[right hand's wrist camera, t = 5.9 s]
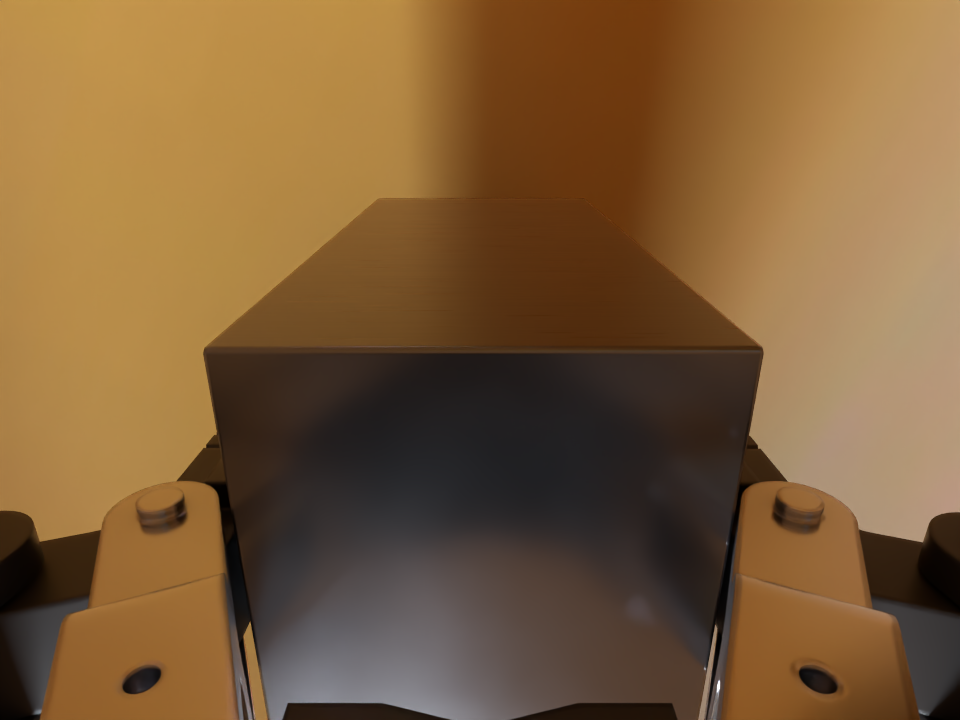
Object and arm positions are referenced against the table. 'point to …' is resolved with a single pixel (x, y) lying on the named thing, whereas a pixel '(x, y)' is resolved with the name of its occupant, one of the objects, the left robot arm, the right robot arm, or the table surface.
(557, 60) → the table surface
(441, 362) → the box
